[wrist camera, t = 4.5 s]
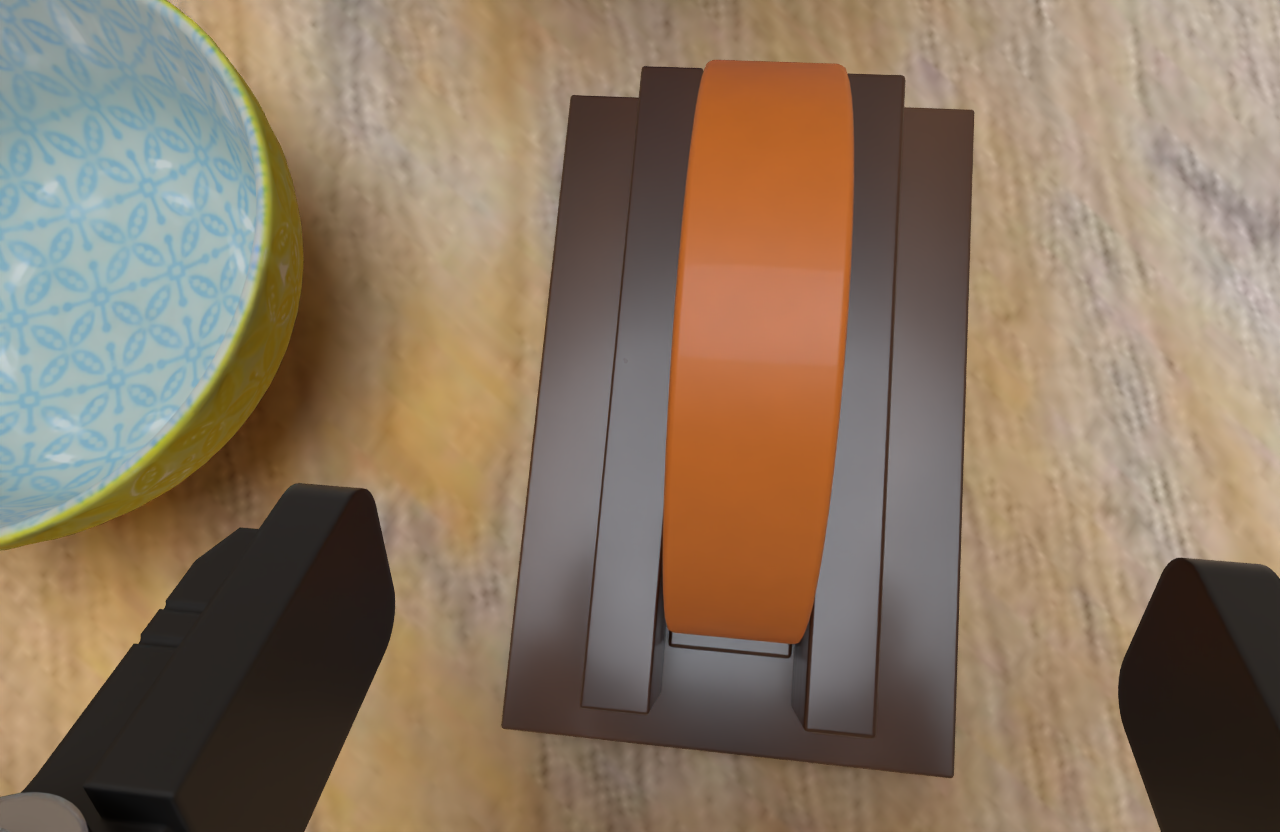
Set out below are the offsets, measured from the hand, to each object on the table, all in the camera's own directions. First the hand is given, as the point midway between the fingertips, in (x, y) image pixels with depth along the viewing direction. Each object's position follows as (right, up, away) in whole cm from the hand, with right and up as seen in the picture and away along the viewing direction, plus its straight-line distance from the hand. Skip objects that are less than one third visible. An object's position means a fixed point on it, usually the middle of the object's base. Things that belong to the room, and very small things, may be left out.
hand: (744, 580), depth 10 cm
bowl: (-13, +4, +13) cm, 19 cm away
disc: (+1, +3, +5) cm, 6 cm away
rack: (+1, +2, +11) cm, 12 cm away
